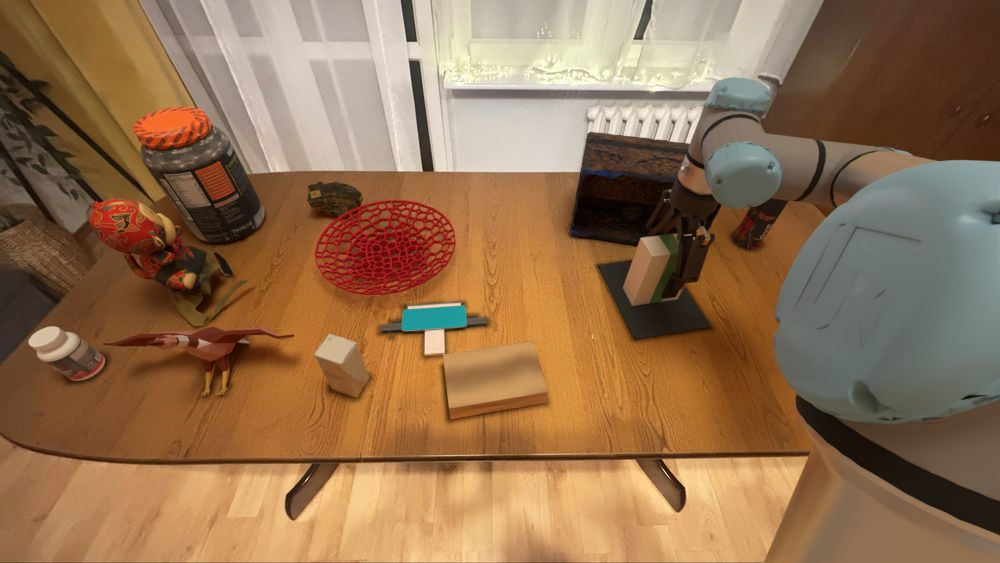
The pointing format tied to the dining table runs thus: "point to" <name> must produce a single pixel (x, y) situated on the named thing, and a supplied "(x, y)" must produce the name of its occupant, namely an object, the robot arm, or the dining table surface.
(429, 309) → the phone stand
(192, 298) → the red patterned figure
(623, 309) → the mat
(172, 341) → the decorative bird
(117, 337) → the dining table surface
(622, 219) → the decorative box
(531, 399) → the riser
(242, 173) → the supplement tub
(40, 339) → the pill bottle
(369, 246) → the bowl
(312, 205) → the rock
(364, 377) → the box
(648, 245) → the packet
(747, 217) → the deodorant
